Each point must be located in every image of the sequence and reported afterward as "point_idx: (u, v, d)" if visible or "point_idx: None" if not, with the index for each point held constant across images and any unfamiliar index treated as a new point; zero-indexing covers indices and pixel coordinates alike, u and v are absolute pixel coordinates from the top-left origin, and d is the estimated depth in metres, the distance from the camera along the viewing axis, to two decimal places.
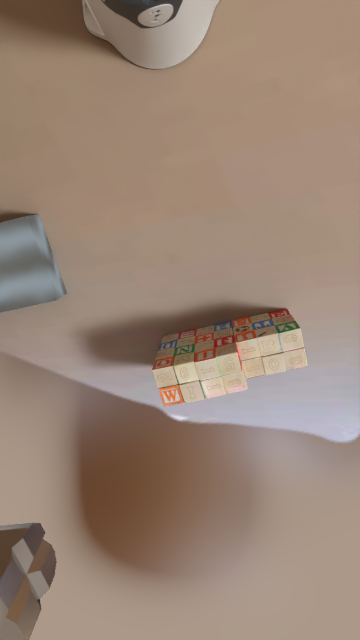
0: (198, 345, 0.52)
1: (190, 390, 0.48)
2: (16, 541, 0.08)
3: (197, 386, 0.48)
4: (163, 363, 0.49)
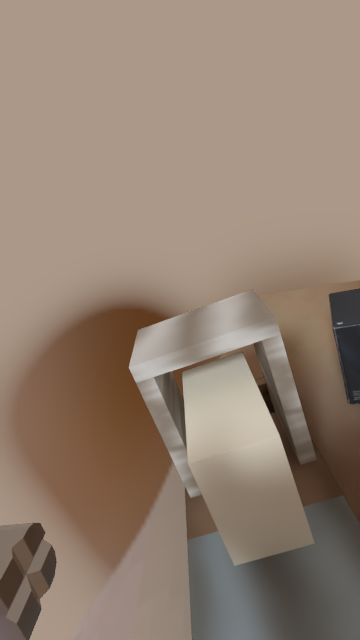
0: None
1: None
2: (16, 541, 0.08)
3: None
4: None
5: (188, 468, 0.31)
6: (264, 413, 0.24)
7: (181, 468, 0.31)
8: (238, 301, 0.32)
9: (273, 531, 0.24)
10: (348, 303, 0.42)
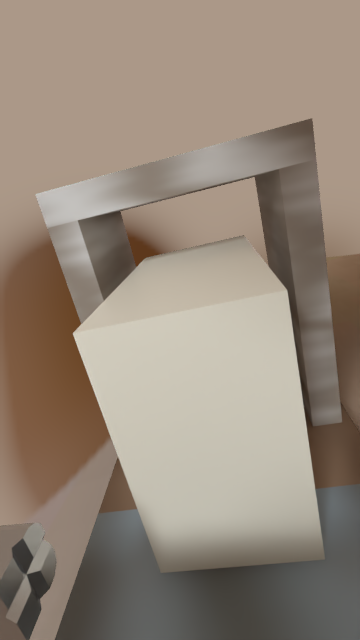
0: None
1: None
2: (17, 541, 0.08)
3: None
4: None
5: None
6: (260, 272, 0.11)
7: None
8: None
9: (245, 518, 0.12)
10: None
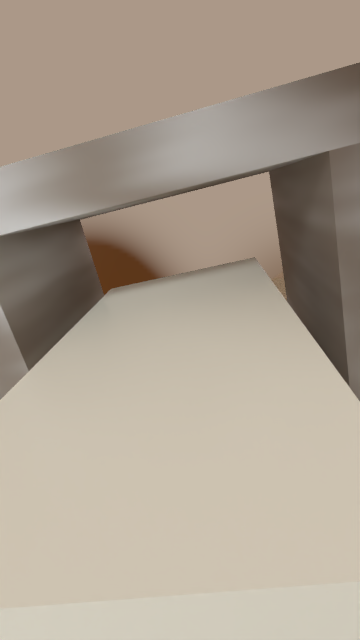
0: None
1: None
2: None
3: None
4: None
5: None
6: (320, 387, 0.05)
7: None
8: None
9: None
10: None
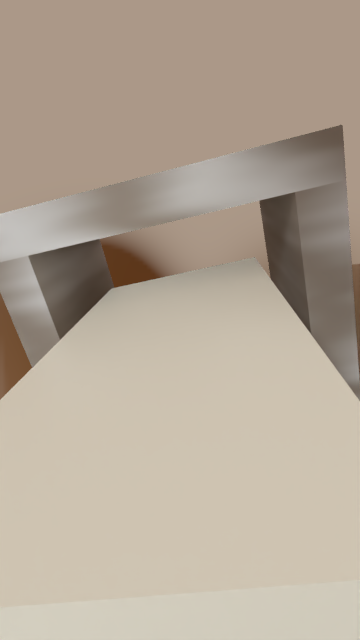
0: None
1: None
2: None
3: None
4: None
5: None
6: (320, 388, 0.05)
7: None
8: None
9: None
10: None
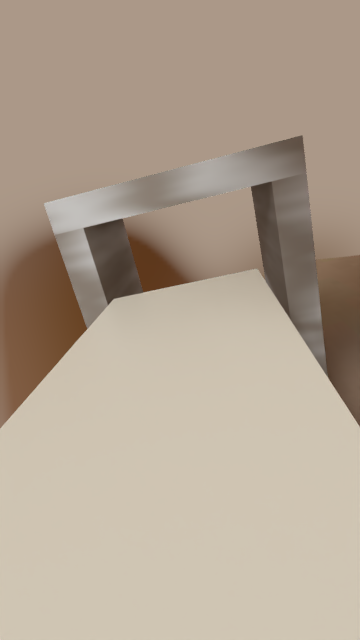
0: None
1: None
2: None
3: None
4: None
5: None
6: (326, 420, 0.05)
7: None
8: None
9: None
10: None
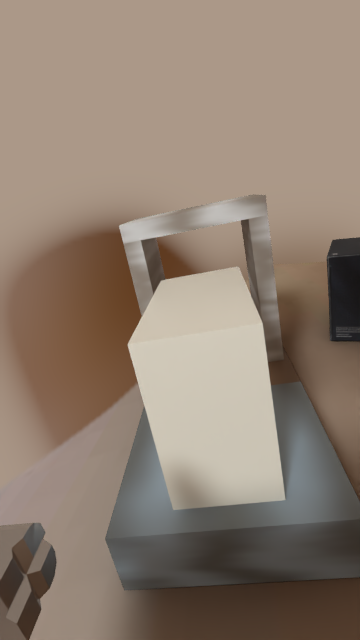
0: None
1: None
2: (16, 541, 0.08)
3: None
4: None
5: None
6: (247, 306, 0.17)
7: None
8: (236, 198, 0.33)
9: (232, 470, 0.17)
10: (347, 244, 0.42)
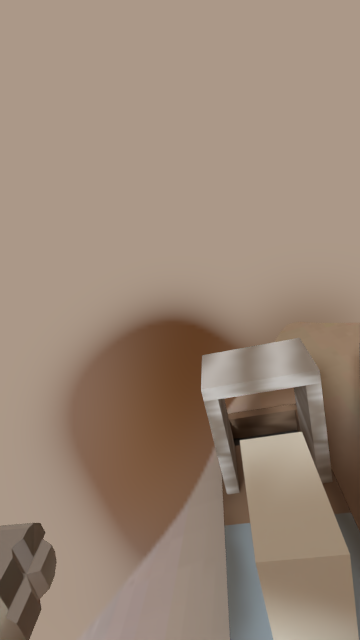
0: None
1: None
2: (16, 541, 0.08)
3: None
4: None
5: (230, 471, 0.39)
6: (331, 520, 0.24)
7: (224, 470, 0.39)
8: (288, 347, 0.40)
9: (322, 632, 0.25)
10: None
